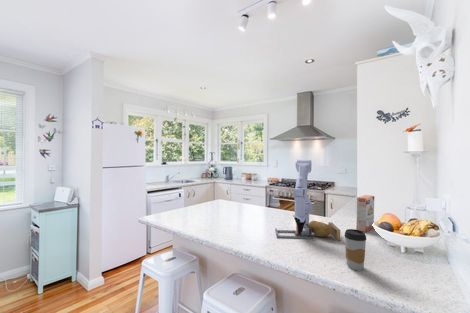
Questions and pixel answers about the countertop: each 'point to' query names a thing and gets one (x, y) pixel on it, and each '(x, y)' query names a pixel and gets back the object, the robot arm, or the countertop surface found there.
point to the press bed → (335, 235)
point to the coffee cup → (355, 248)
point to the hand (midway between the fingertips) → (299, 230)
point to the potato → (321, 228)
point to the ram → (304, 233)
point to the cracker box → (365, 213)
